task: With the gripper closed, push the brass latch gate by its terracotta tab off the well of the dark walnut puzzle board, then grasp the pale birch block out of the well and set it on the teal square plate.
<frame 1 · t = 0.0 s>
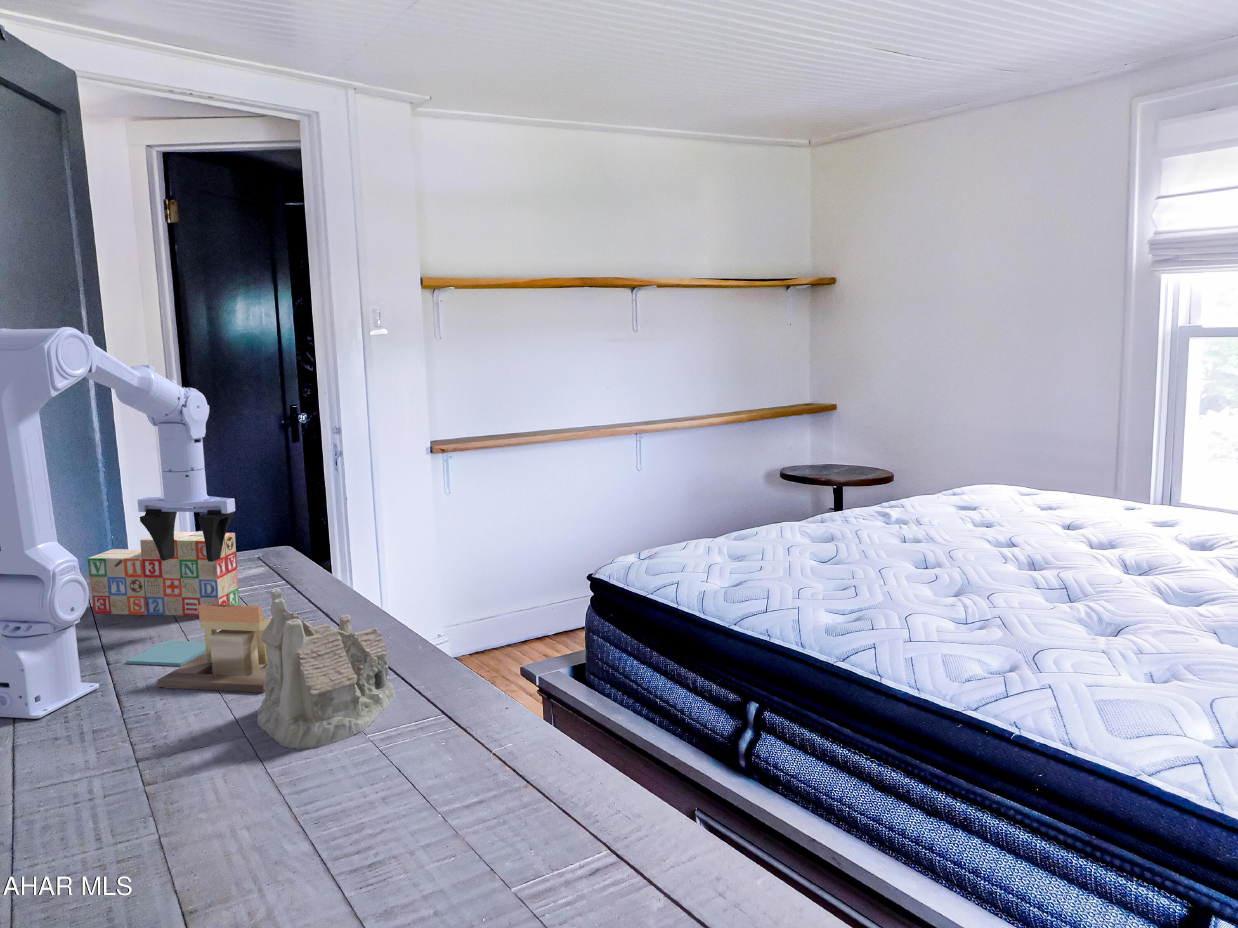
hand: (190, 559, 129), 10 cm above the table, fingers open, 7 cm apart
stack of blocks: (167, 611, 139), on the table
ceramic cottage: (333, 714, 98), on the table
birch block: (239, 672, 111), resting in puzzle board
latch gate: (236, 633, 110), point 5 cm above the table, slide at 0.0 cm
puzzle board: (239, 671, 111), on the table
teal square plate: (173, 654, 118), on the table
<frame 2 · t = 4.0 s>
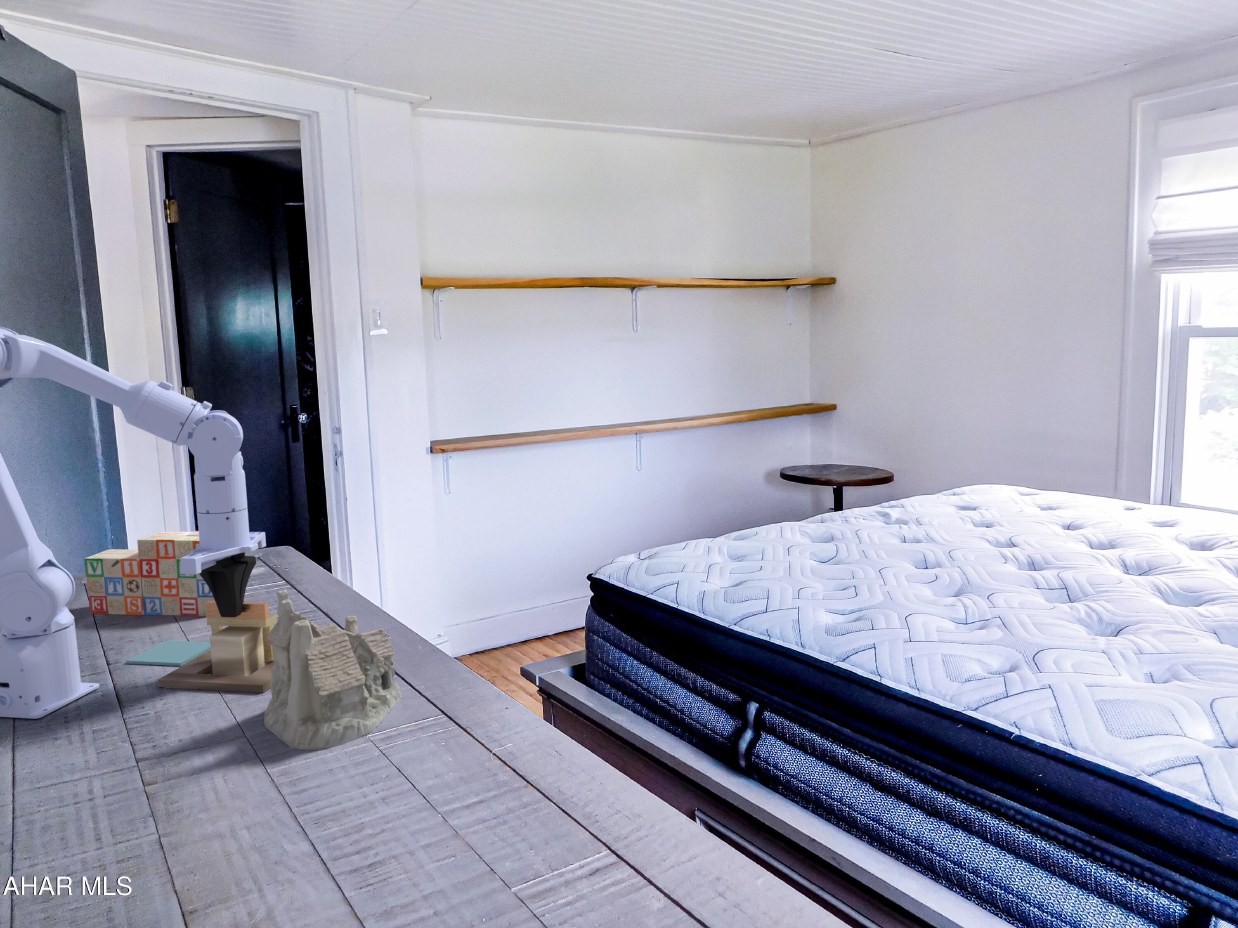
hand: (230, 615, 109), 8 cm above the table, fingers closed
latch gate: (242, 629, 112), point 5 cm above the table, slide at 1.4 cm, touching gripper
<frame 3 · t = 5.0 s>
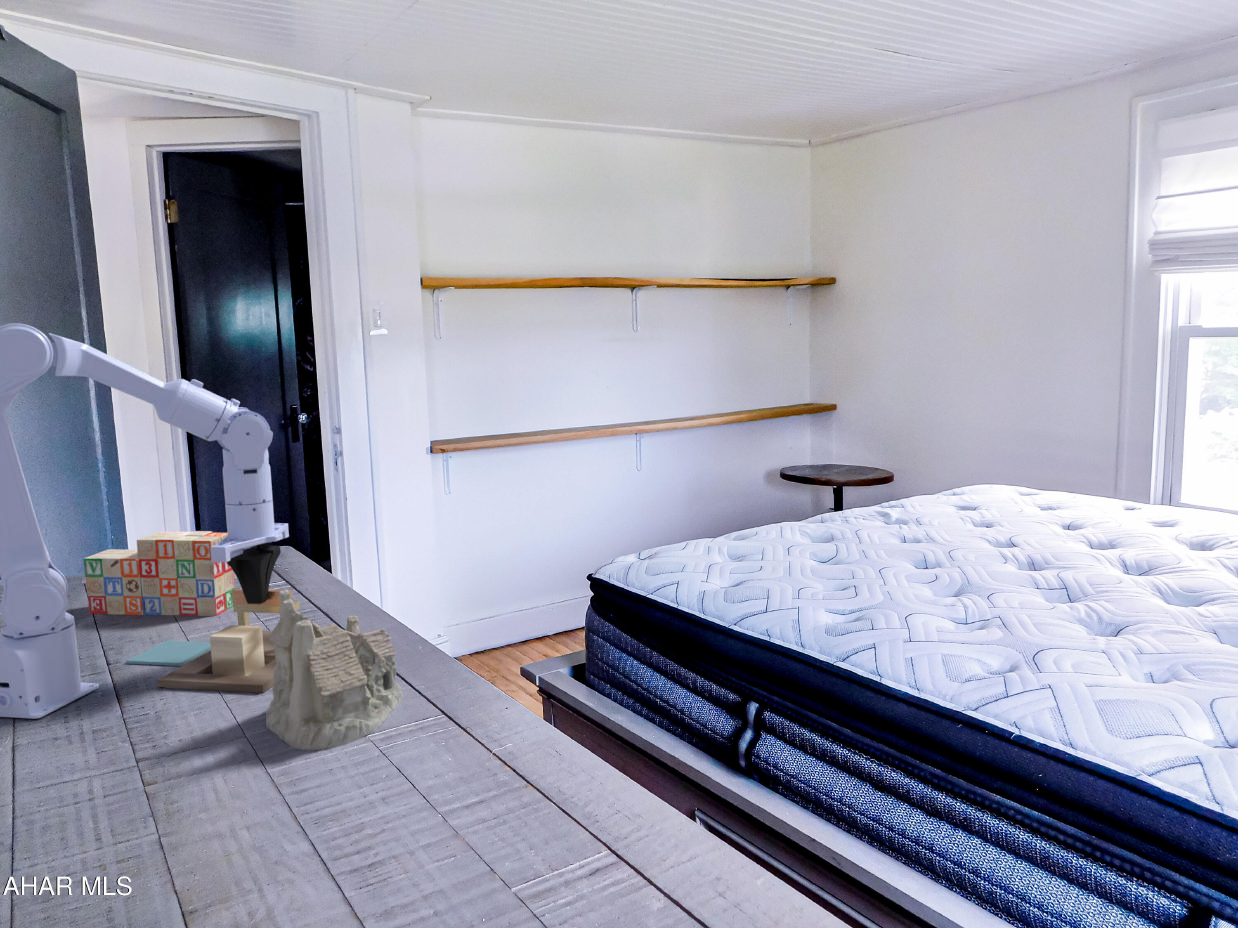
hand: (256, 602, 115), 8 cm above the table, fingers closed
latch gate: (267, 616, 117), point 5 cm above the table, slide at 7.1 cm, touching gripper
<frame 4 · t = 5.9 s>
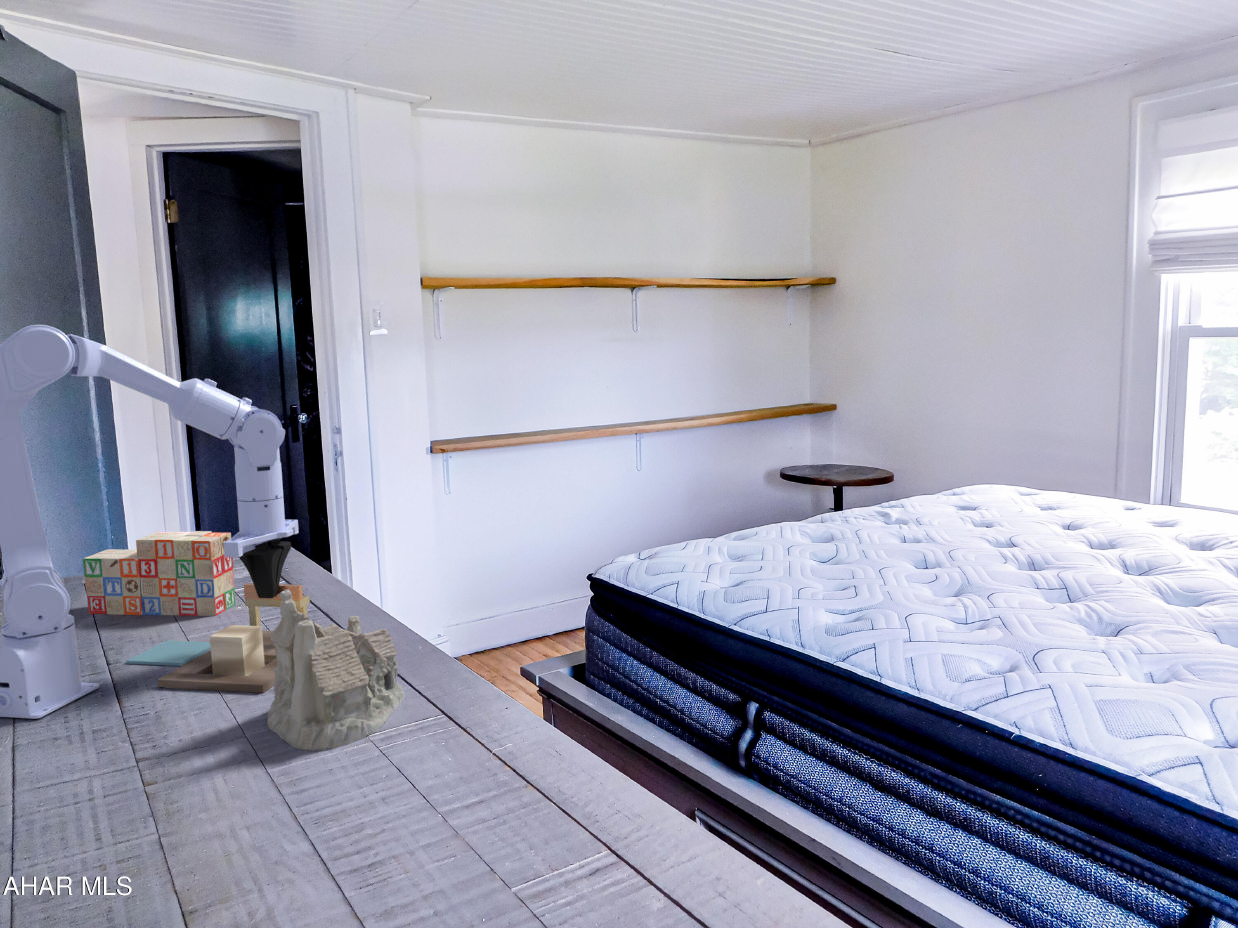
hand: (267, 596, 117), 8 cm above the table, fingers closed
latch gate: (278, 610, 120), point 5 cm above the table, slide at 9.7 cm, touching gripper
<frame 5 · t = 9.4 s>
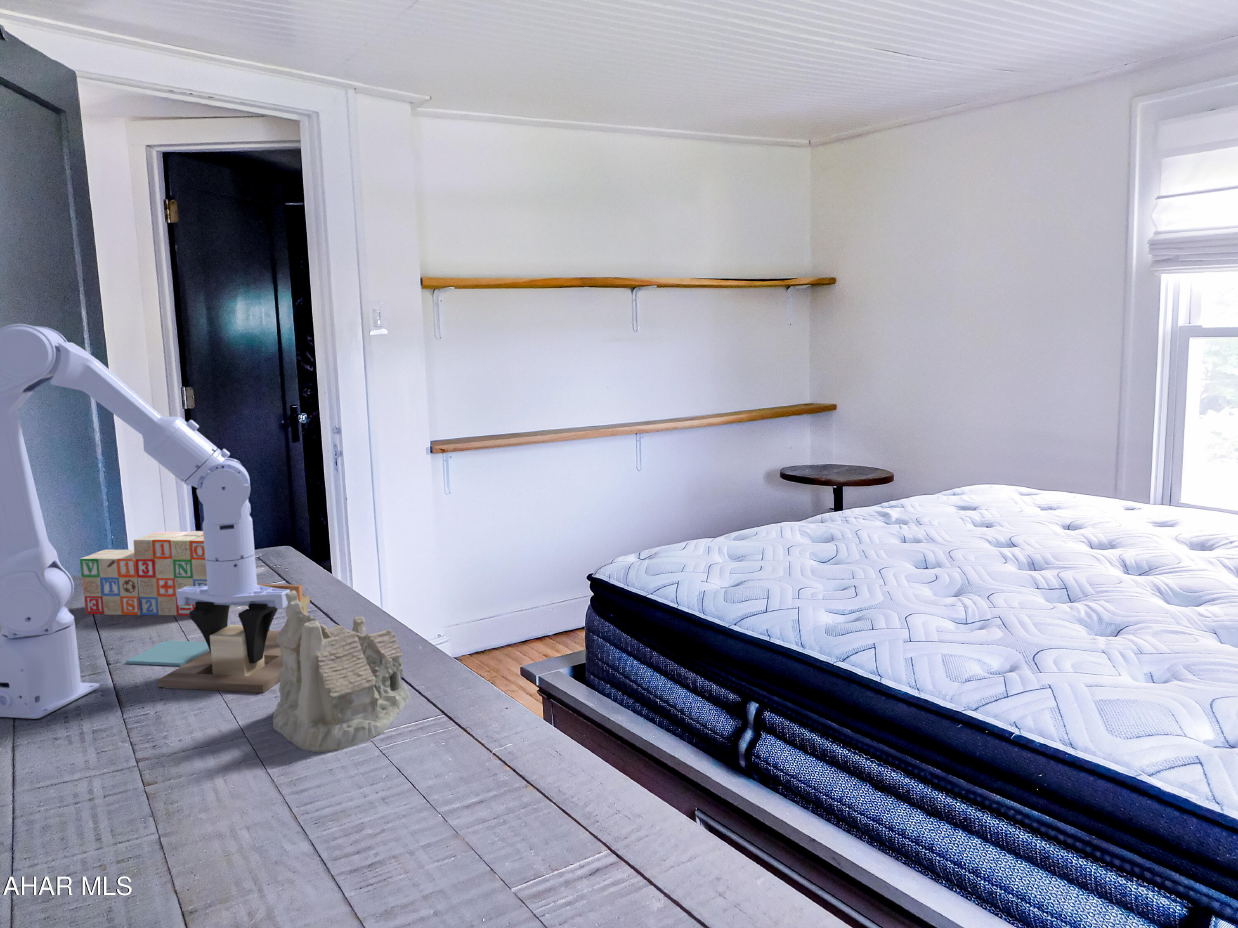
hand: (238, 659, 111), 2 cm above the table, fingers closed on birch block, 4 cm apart
birch block: (239, 672, 111), resting in puzzle board, touching gripper
latch gate: (278, 610, 120), point 5 cm above the table, slide at 9.8 cm
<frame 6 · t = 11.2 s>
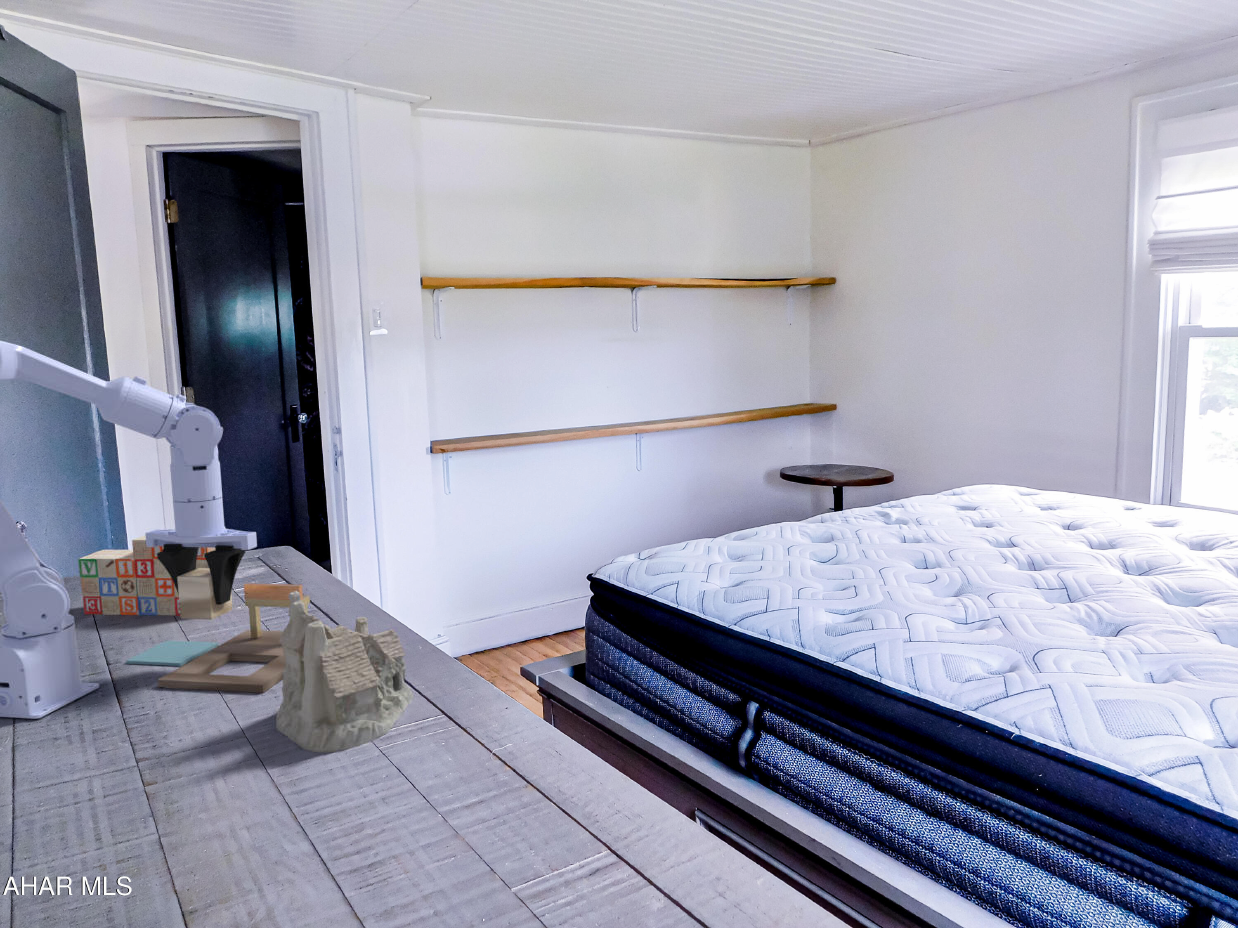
hand: (205, 601, 113), 9 cm above the table, fingers closed on birch block, 4 cm apart
birch block: (207, 613, 113), point 7 cm above the table, touching gripper
when the fingers open (3 cm above the table, at t = 13.2 s): birch block stays where it is, resting on teal square plate.
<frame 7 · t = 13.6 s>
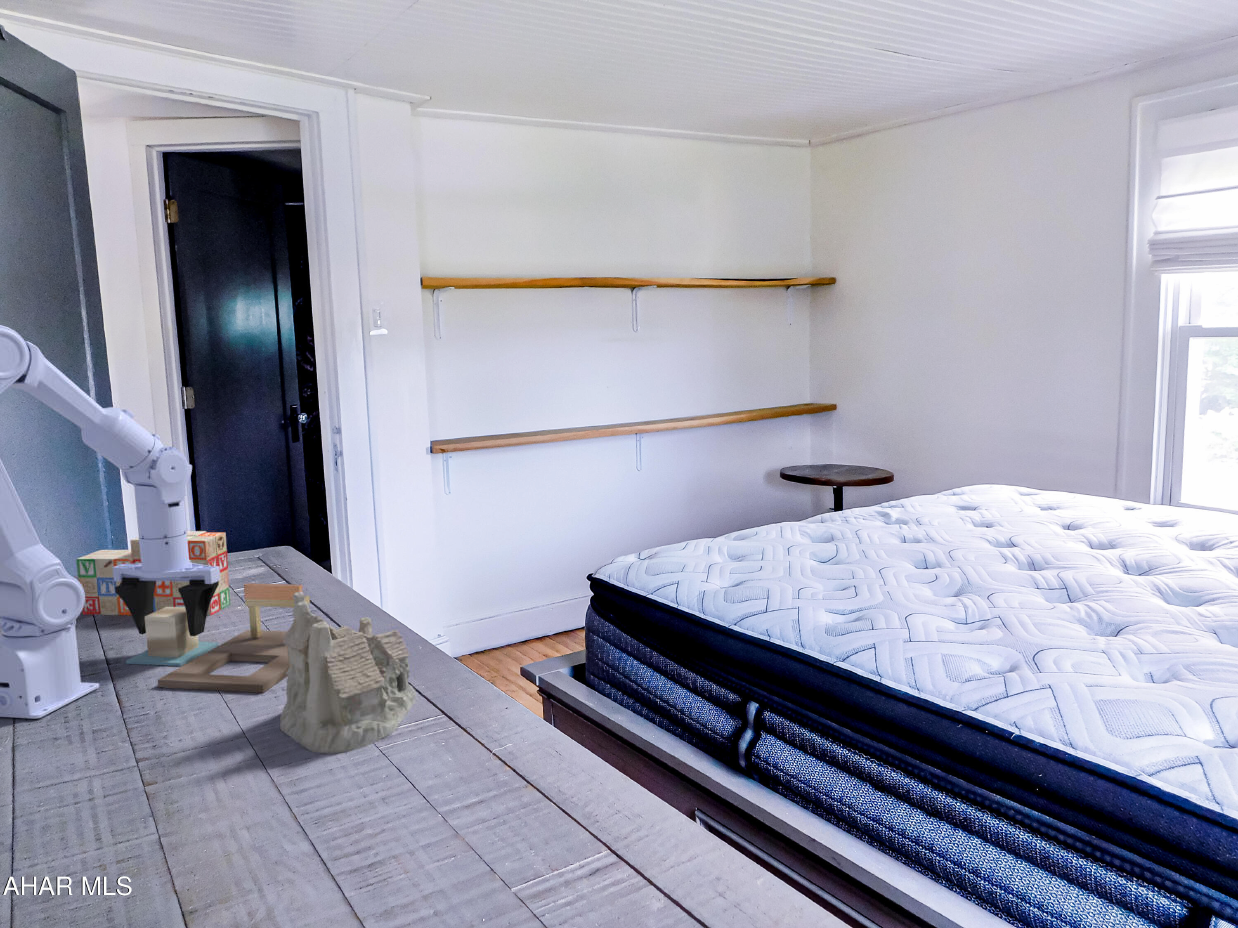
hand: (171, 632, 118), 3 cm above the table, fingers open, 7 cm apart
birch block: (173, 651, 118), resting on teal square plate
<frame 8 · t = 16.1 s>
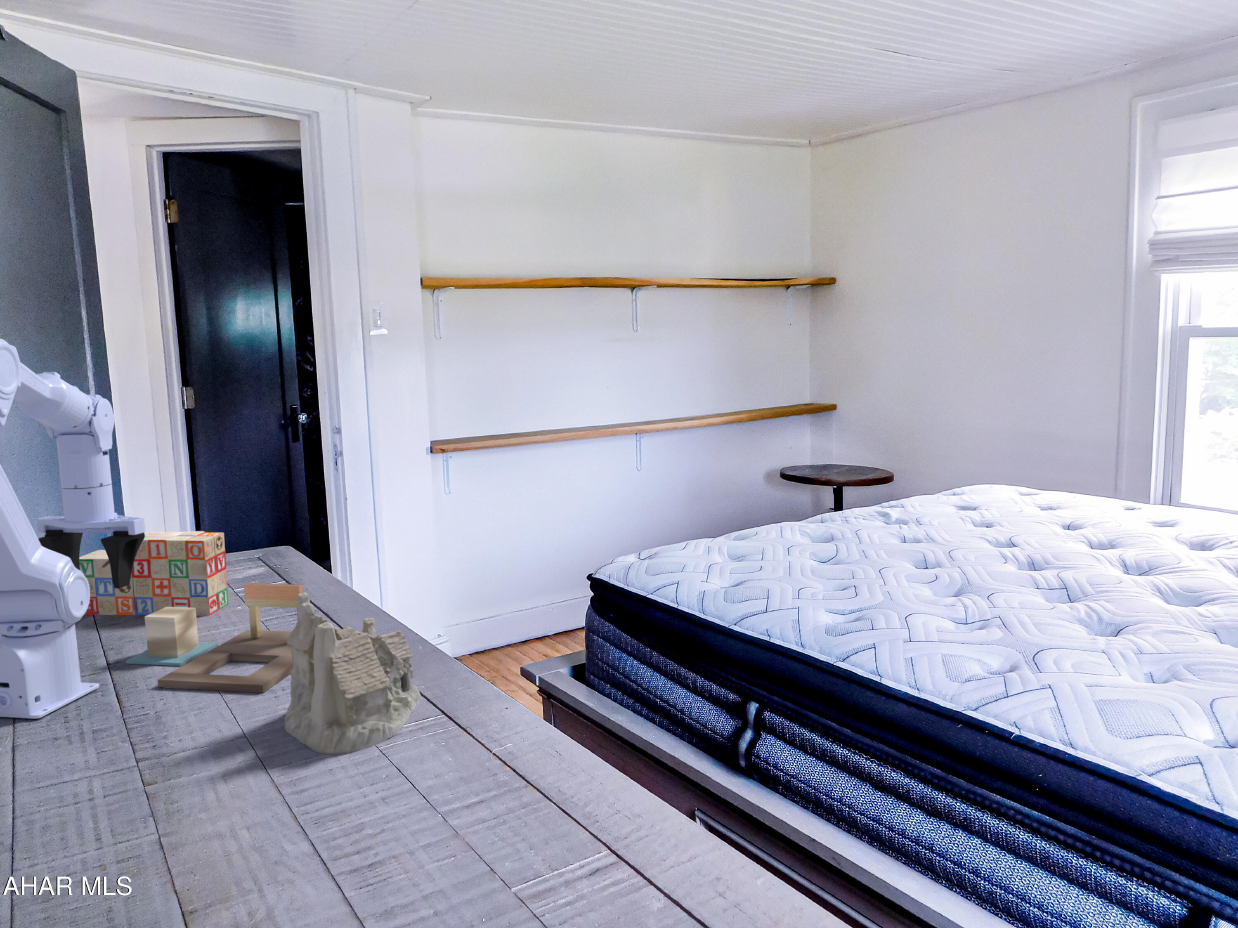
hand: (96, 585, 116), 10 cm above the table, fingers open, 7 cm apart
at the end: latch gate slide at 9.8 cm; birch block 0.1 cm off-centre on the teal square plate, point 0.4 cm above the teal square plate's base; birch block tilted 0° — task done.
